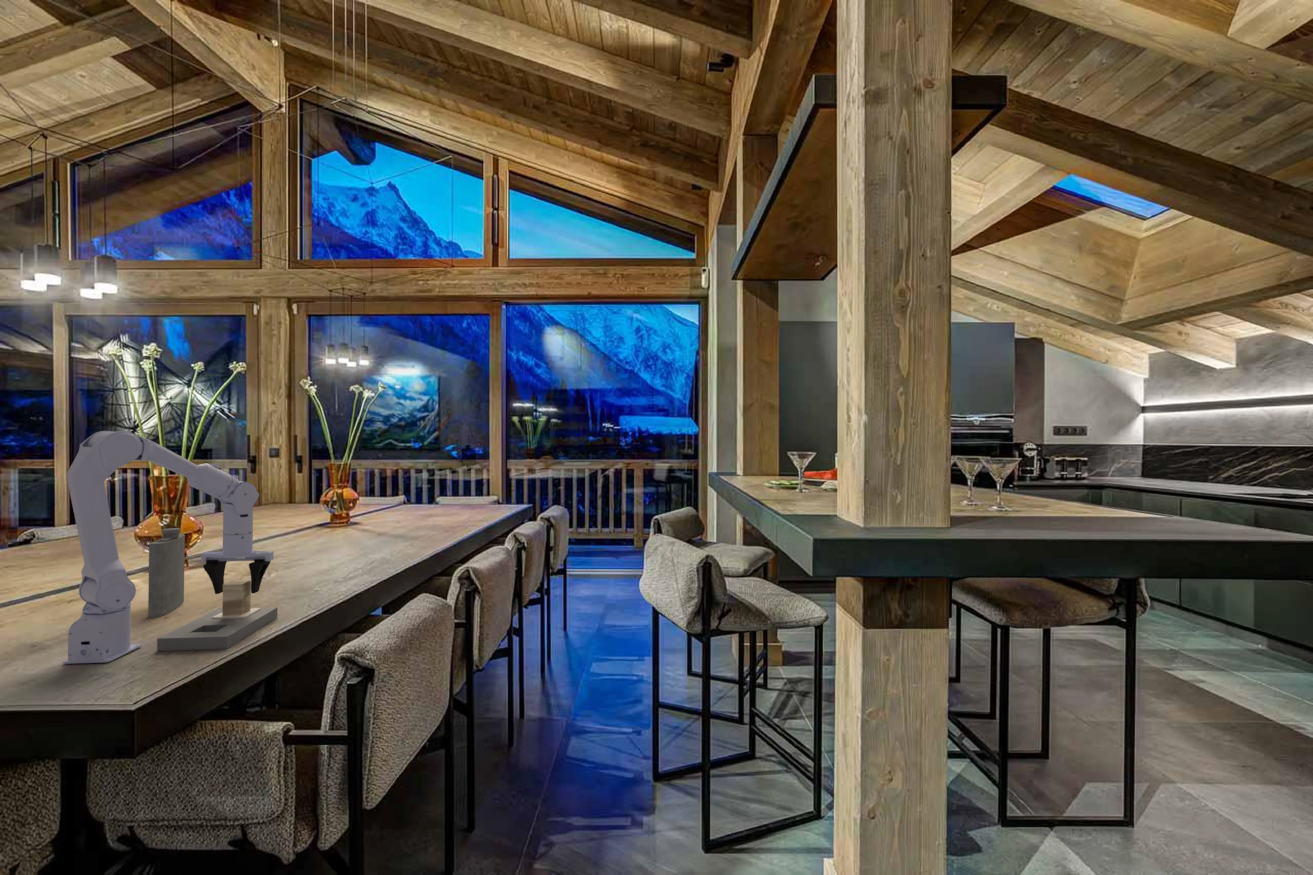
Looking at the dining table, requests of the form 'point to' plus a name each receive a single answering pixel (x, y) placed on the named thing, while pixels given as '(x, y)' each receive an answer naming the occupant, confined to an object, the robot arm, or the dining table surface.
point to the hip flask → (166, 573)
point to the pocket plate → (216, 630)
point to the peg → (236, 597)
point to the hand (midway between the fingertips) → (237, 592)
